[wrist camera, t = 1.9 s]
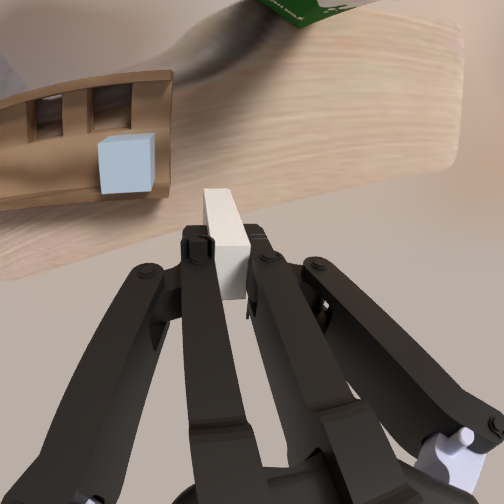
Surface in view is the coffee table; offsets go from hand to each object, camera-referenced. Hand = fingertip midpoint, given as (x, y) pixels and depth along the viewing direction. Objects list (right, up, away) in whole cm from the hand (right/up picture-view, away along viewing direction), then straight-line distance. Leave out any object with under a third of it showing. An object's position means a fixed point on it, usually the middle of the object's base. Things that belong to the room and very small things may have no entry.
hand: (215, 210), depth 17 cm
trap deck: (-18, +11, +9) cm, 23 cm away
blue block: (-10, +7, +10) cm, 16 cm away
